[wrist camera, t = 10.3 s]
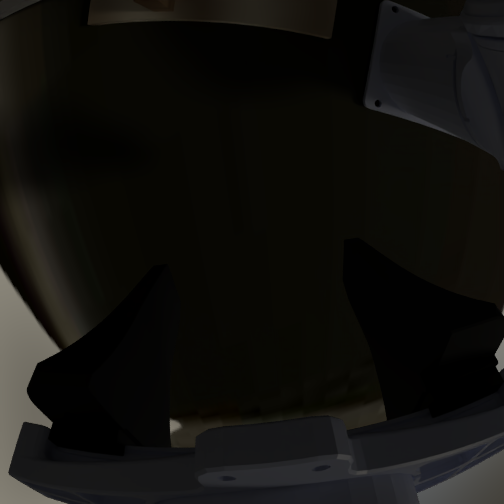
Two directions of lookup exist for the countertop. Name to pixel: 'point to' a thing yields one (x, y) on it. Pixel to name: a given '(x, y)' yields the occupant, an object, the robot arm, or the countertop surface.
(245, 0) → the hinge base
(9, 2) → the caliper
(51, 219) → the countertop surface
